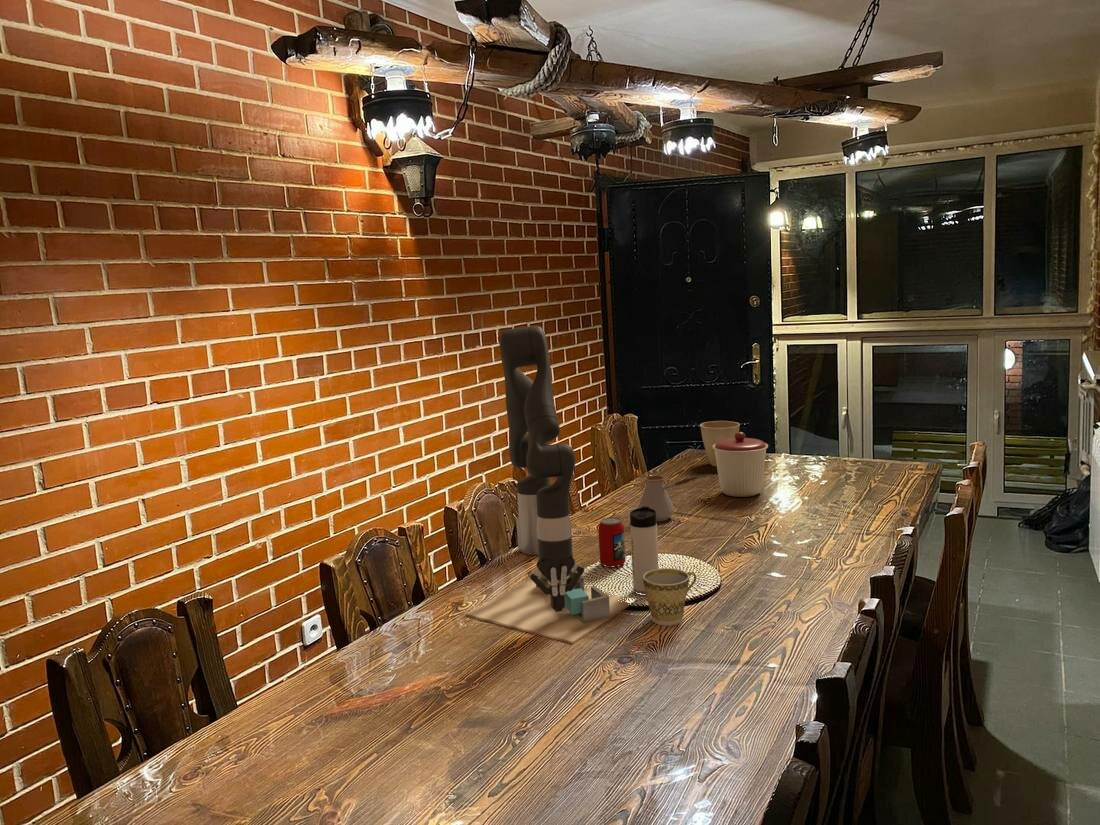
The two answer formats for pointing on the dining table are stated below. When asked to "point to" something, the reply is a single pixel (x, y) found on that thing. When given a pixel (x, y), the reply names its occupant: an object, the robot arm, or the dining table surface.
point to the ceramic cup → (667, 594)
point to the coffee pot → (660, 496)
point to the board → (540, 613)
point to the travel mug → (643, 545)
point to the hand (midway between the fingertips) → (558, 610)
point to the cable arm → (573, 599)
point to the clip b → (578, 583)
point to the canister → (740, 465)
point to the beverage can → (611, 542)
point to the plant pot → (717, 435)
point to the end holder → (594, 607)
